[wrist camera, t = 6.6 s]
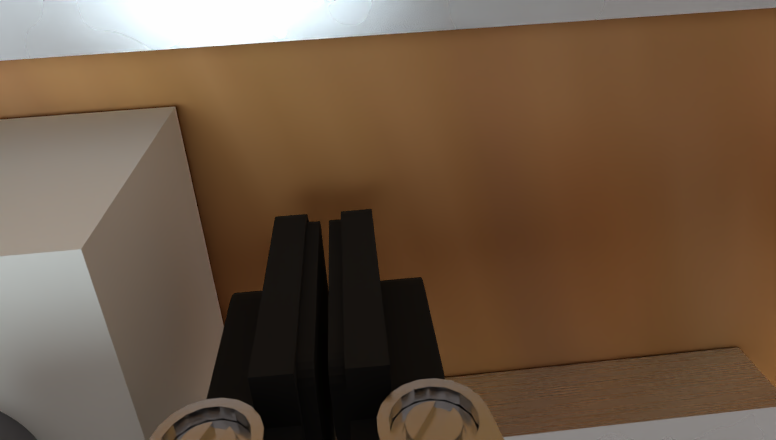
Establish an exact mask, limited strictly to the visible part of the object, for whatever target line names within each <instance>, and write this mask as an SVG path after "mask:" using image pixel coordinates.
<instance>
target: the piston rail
mask: <svg viewBox="0 0 776 440" xmlns="http://www.w3.org/2000/svg"><path fill="white" fill-rule="evenodd" d="M763 8H776V0H0V61H2V60H17V59H31V58H46V57H61V56H75V55H90V54H104V53H119V52H134V51H148V50H163V49H178V48H192V47H207V46H222V45H236V44H251V43H265V42H280V41H295V40H309V39H324V38H339V37H353V36H368V35H383V34H397V33H412V32H426V31H441V30H456V29H470V28H485V27H500V26H514V25H529V24H544V23H558V22H573V21H587V20H602V19H617V18H631V17H646V16H661V15H675V14H690V13H705V12H719V11H734V10H748V9H763ZM445 380H452V381H454V382H457V383H459V384H462V385H464V386H467V387H468V388H470V389H471V390H472V391H474V392H475V393H477V394H478V395H479V396H480V397H481V398H482V400H483V401H484V402H485V404H486V405H487V407H488V408H489V410H490V412H491V414H492V416H493V418H494V420H495V422H496V424H497V426H498V428H499V430H500V432H501V434H502V436H503V438H504V440H776V388H775V387H774V386H773V385H772V384H771V383H770V381H769V380H768V379H767V378H766V377H765V376H764V375H763V374H762V373H761V372H760V370H759V369H758V368H757V367H756V366H755V365H754V364H753V363H752V362H751V361H750V359H749V358H748V357H747V356H746V355H745V354H744V353H743V352H742V351H741V350H740V349H739V347H735V348H725V349H716V350H706V351H697V352H687V353H677V354H668V355H658V356H649V357H639V358H630V359H620V360H611V361H601V362H592V363H582V364H573V365H563V366H554V367H544V368H535V369H525V370H515V371H506V372H496V373H487V374H477V375H468V376H458V377H449V378H445Z"/></svg>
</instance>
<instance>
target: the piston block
mask: <svg viewBox="0 0 776 440" xmlns="http://www.w3.org/2000/svg"><path fill="white" fill-rule="evenodd" d="M223 329H224V325H223V320H222V316H221V311H220V307H219V302H218V298H217V293H216V289H215V284H214V280H213V275H212V270H211V266H210V261H209V257H208V252H207V248H206V243H205V239H204V234H203V230H202V225H201V221H200V216H199V212H198V207H197V203H196V198H195V193H194V189H193V184H192V180H191V175H190V171H189V166H188V162H187V157H186V153H185V148H184V144H183V139H182V135H181V130H180V126H179V121H178V116H177V112H176V107H162V108H149V109H135V110H122V111H108V112H95V113H81V114H68V115H54V116H41V117H27V118H14V119H0V440H149V439H150V437H151V436H152V434H153V433H154V431H155V430H156V429H157V427H158V426H159V425H160V424H161V423H162V422H163V421H165V420H166V419H167V418H168V417H169V416H170V415H171V414H173V413H175V412H176V411H178V410H180V409H182V408H184V407H185V406H187V405H189V404H193V403H196V402H199V401H202V400H205V399H206V398H207V394H208V390H209V386H210V382H211V378H212V374H213V370H214V366H215V362H216V358H217V354H218V349H219V345H220V341H221V337H222V333H223Z"/></svg>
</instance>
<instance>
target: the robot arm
mask: <svg viewBox="0 0 776 440" xmlns="http://www.w3.org/2000/svg"><path fill="white" fill-rule="evenodd" d="M149 440H504V438H503V436H502V434H501V432H500V430H499V428H498V426H497V424H496V422H495V420H494V418H493V416H492V414H491V412H490V410H489V408H488V407H487V405H486V404H485V402H484V401H483V400H482V398H481V397H480V396H479V395H478V394H477V393H475V392H474V391H472V390H471V389H470V388H468V387H467V386H464V385H462V384H459V383H457V382H454V381H452V380H445V376H444V372H443V367H442V363H441V359H440V354H439V350H438V345H437V341H436V336H435V332H434V328H433V323H432V319H431V314H430V310H429V305H428V301H427V297H426V292H425V288H424V283H423V280H422V278H421V277H419V278H407V279H395V280H383V281H380V277H379V269H378V260H377V252H376V243H375V235H374V226H373V218H372V210H371V209H366V210H353V211H341V220H330V221H329V292H328V283H327V274H326V266H325V257H324V249H323V240H322V232H321V224H320V221H316V222H309V219H308V215H307V214H303V215H290V216H277V217H275V221H274V227H273V233H272V239H271V245H270V250H269V256H268V262H267V268H266V274H265V279H264V285H263V291H253V292H242V293H234V294H233V295H232V298H231V300H230V304H229V309H228V313H227V317H226V321H225V325H224V329H223V333H222V337H221V341H220V345H219V349H218V354H217V358H216V362H215V366H214V370H213V374H212V378H211V382H210V386H209V390H208V394H207V398H206V399H205V400H202V401H199V402H196V403H193V404H189V405H187V406H185V407H184V408H182V409H180V410H178V411H176V412H175V413H173V414H171V415H170V416H169V417H168V418H167V419H166V420H165V421H163V422H162V423H161V424H160V425H159V426H158V427H157V429H156V430H155V431H154V433H153V434H152V436H151V437H150V439H149Z"/></svg>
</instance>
